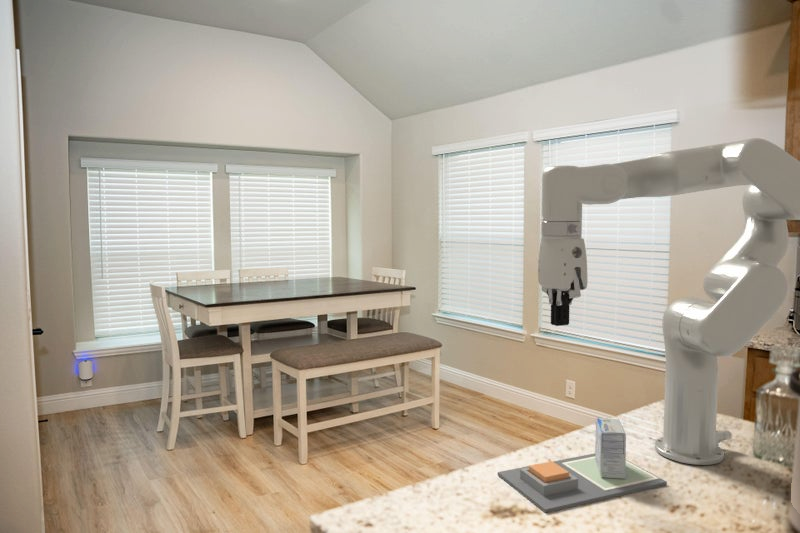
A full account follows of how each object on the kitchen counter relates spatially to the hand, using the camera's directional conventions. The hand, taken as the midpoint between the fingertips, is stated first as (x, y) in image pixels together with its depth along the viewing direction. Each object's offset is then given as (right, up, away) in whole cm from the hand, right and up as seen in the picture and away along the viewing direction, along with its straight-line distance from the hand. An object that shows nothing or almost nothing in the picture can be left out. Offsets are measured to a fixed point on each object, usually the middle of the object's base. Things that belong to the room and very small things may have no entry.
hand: (559, 324), depth 115 cm
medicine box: (+8, -27, -5) cm, 29 cm away
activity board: (+2, -28, -7) cm, 29 cm away
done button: (-5, -27, -10) cm, 29 cm away
